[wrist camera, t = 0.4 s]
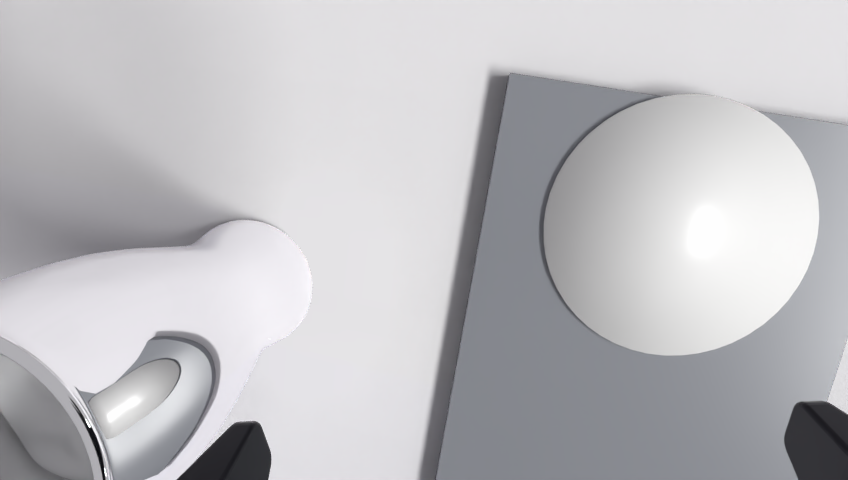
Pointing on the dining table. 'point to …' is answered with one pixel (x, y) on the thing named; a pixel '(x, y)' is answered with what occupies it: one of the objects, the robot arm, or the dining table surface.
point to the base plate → (648, 288)
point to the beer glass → (139, 351)
